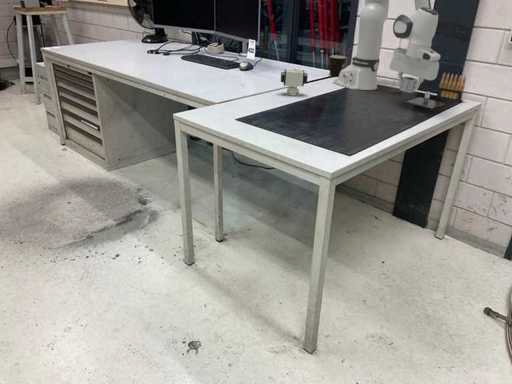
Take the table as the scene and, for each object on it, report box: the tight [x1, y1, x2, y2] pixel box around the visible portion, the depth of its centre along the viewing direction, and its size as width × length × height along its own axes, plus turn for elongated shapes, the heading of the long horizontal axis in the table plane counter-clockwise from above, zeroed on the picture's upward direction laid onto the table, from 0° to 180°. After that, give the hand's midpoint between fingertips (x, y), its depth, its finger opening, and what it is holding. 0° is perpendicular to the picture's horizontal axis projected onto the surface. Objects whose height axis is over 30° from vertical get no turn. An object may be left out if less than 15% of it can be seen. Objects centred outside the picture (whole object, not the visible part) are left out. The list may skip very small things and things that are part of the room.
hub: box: [399, 76, 419, 94], centre depth 174 cm, size 6×6×5 cm
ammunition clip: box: [435, 72, 467, 101], centre depth 190 cm, size 11×2×12 cm, turn 55°
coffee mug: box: [329, 54, 347, 78], centre depth 226 cm, size 12×9×10 cm
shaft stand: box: [405, 91, 446, 110], centre depth 184 cm, size 12×12×5 cm
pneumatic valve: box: [280, 67, 308, 97], centre depth 187 cm, size 6×12×12 cm, turn 89°
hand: (408, 85), depth 174 cm, fingers closed on hub, 6 cm apart
